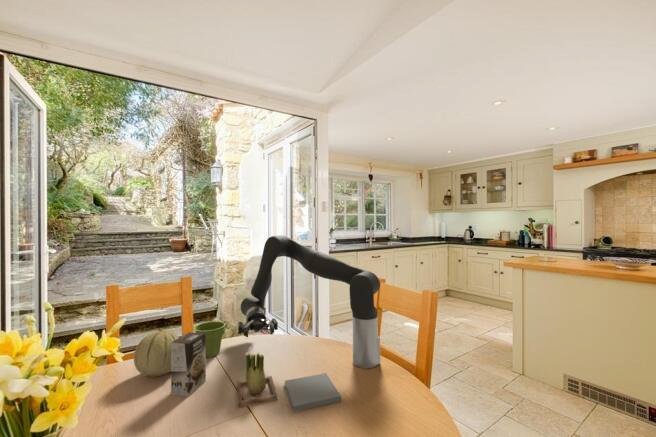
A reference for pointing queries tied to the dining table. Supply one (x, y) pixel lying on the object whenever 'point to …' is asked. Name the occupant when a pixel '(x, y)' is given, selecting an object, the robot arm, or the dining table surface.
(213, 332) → the plant pot
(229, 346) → the dining table surface
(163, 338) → the cantaloupe
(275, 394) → the walnut collar
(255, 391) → the fennel bulb
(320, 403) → the slate board
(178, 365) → the coffee box
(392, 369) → the dining table surface
